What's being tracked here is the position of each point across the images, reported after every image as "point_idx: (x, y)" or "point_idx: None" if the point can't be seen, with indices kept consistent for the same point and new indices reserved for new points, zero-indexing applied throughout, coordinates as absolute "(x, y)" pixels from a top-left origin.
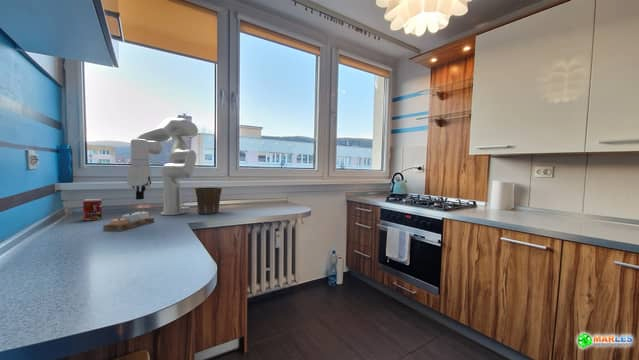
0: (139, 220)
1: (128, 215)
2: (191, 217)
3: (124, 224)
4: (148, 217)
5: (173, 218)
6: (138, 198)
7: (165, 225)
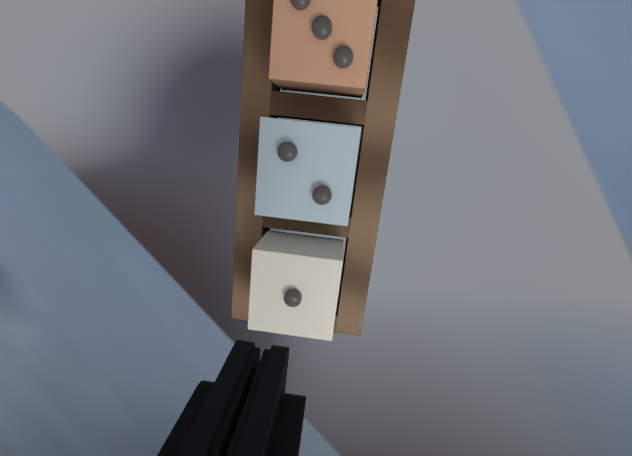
0: None
1: (289, 122)
2: (107, 445)
3: (257, 16)
4: None
5: None
6: (239, 347)
7: (86, 195)
